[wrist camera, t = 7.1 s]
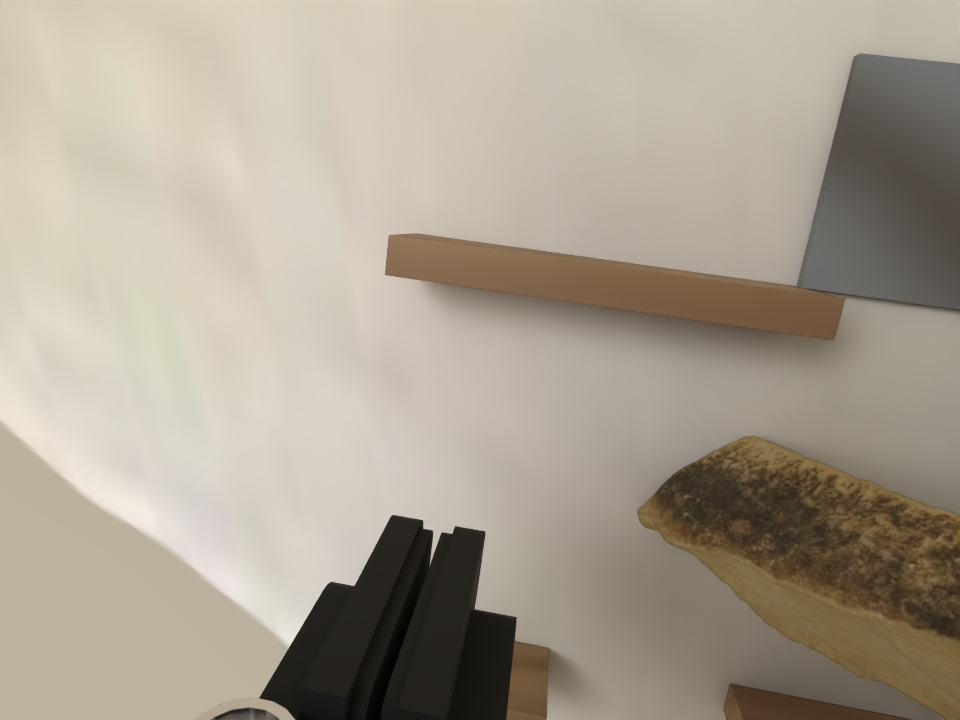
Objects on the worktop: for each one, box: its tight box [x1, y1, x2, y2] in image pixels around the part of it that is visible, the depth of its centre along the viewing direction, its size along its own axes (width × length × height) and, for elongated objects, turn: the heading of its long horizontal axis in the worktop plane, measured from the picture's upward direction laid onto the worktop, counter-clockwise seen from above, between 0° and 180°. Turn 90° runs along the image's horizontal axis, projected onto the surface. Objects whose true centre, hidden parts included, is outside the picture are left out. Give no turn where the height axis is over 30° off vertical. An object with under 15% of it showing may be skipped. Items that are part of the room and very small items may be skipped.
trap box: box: [385, 54, 960, 720], centre depth 16 cm, size 20×21×4 cm
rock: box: [638, 436, 960, 720], centre depth 16 cm, size 11×9×10 cm
